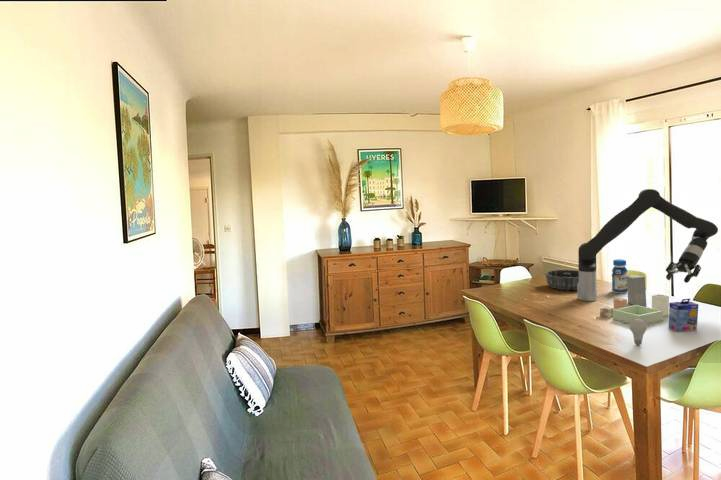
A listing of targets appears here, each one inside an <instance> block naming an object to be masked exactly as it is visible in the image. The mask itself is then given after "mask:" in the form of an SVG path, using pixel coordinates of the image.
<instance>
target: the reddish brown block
mask: <svg viewBox="0 0 721 480" xmlns="http://www.w3.org/2000/svg"><path fill="white" fill-rule="evenodd" d="M624 307H628V298H627V299H626V298H622V297H620V298H619V297H617V298H613V310H614V309H619V308H624Z"/></svg>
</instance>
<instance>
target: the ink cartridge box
mask: <svg viewBox="0 0 721 480" xmlns="http://www.w3.org/2000/svg"><path fill="white" fill-rule="evenodd" d="M698 314H699V303H696V302H692V301H691V298H682V300H681V301H674V302H669V316H668V329H670V330H672V331H674V332H677V333H679V332H680V333H681V332H693V331H696V332H697V330H698V317H699V315H698Z"/></svg>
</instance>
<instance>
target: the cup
mask: <svg viewBox="0 0 721 480" xmlns="http://www.w3.org/2000/svg"><path fill="white" fill-rule="evenodd" d="M669 303H670V296H669V295H664V294H660V293H658V294H652V295H651V308H652V309H657V310H661V311H663V318H664V317H669Z"/></svg>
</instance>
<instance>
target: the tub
mask: <svg viewBox="0 0 721 480" xmlns="http://www.w3.org/2000/svg"><path fill="white" fill-rule="evenodd" d="M634 319H641V320H643V321H644V322H645V323H646V325H647V326H648V325H651V324H655V323H660V322H663V321H664V317H663V311H661V310H657V309H652V307H647V306H639V305H630V306H627V307H624V308H619V309H614V308H613V317H612V320H613V321H614V320H615V321H618V322H621V323H625V324H628V325H630V322H631V321H632V320H634Z"/></svg>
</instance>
